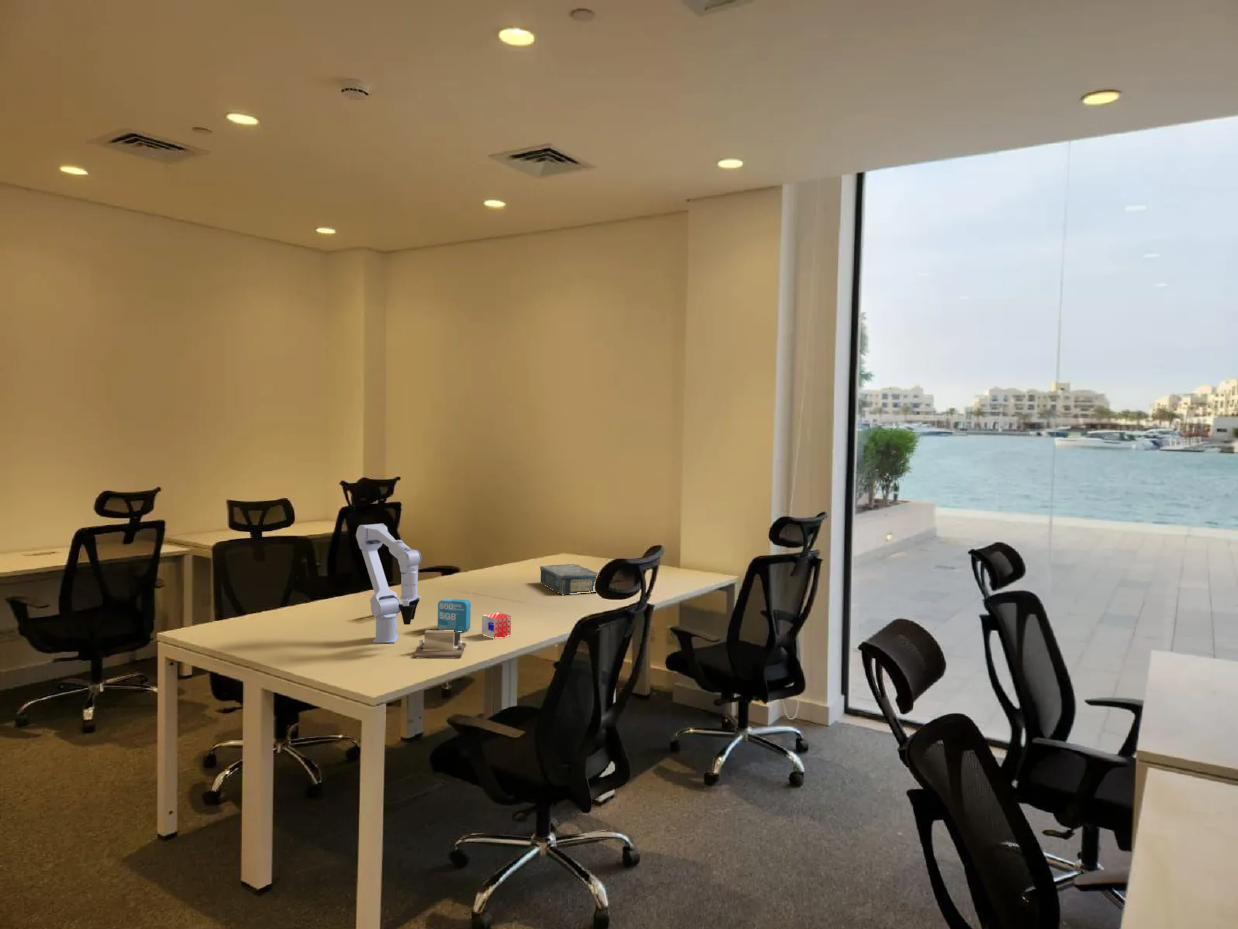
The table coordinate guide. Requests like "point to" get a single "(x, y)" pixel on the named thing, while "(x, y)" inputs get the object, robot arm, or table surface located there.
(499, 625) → the puzzle cube
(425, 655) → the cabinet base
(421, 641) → the hinge pins
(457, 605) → the data package
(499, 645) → the table surface
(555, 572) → the metal box
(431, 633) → the beige wooden block
